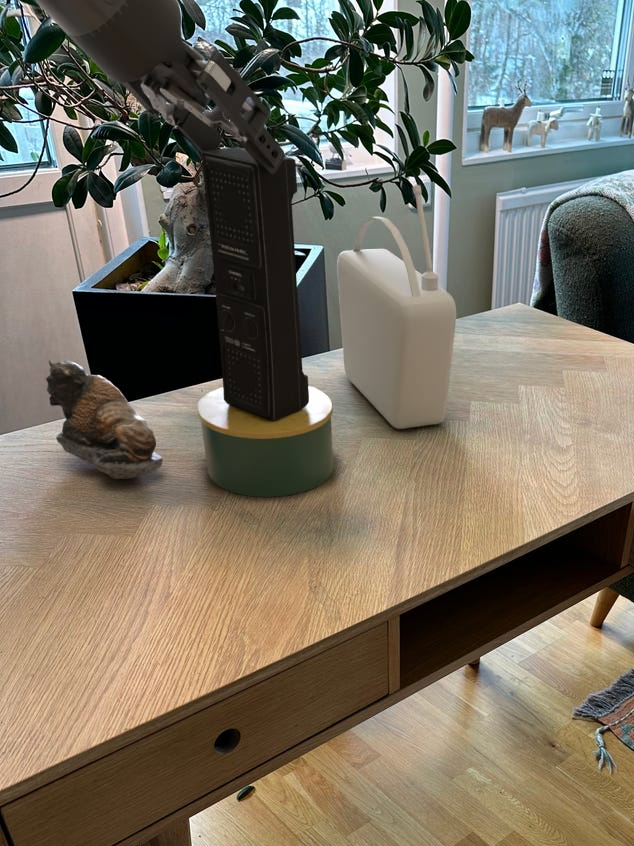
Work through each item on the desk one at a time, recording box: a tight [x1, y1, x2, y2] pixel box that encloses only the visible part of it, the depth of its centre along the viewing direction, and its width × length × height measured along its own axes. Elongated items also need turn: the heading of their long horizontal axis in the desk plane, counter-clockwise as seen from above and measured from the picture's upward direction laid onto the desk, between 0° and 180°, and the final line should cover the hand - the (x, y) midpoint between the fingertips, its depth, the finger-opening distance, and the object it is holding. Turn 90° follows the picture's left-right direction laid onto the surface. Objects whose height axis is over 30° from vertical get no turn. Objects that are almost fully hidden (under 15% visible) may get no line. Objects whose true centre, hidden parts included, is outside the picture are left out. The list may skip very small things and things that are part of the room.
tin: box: [196, 385, 334, 498], centre depth 91 cm, size 13×13×7 cm
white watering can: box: [336, 184, 457, 430], centre depth 102 cm, size 22×8×25 cm, turn 26°
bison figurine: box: [45, 359, 164, 480], centre depth 88 cm, size 12×7×10 cm, turn 59°
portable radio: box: [201, 125, 309, 421], centre depth 82 cm, size 8×6×25 cm
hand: (245, 156), depth 76 cm, fingers open, 8 cm apart
